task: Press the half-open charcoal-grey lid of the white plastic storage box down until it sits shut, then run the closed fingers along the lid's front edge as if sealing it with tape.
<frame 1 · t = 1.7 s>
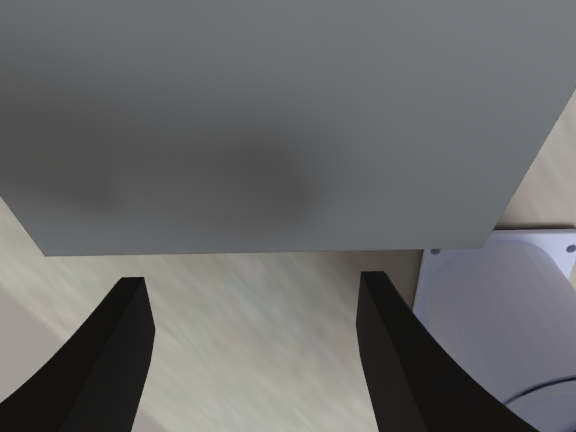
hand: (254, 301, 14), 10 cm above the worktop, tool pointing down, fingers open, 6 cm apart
lid: (257, 108, 14), point 7 cm above the worktop, hinge at 20.0°
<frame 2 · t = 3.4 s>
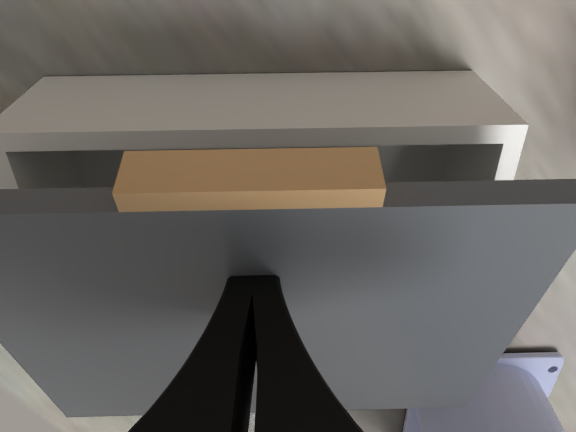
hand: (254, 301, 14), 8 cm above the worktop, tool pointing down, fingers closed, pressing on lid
lid: (261, 315, 16), point 7 cm above the worktop, hinge at 14.6°, touching gripper
storage box: (264, 208, 22), on the worktop
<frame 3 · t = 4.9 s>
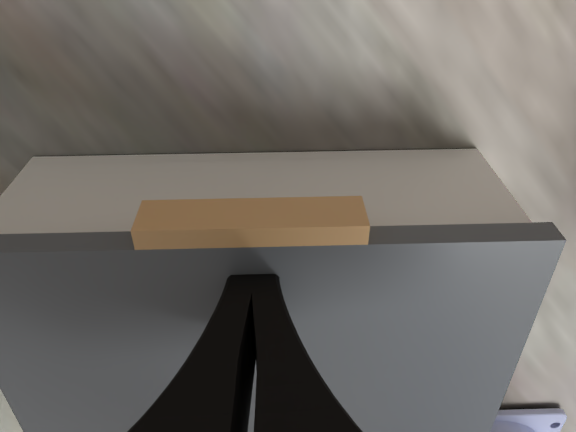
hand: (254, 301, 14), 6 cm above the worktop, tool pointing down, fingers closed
lid: (260, 371, 17), point 5 cm above the worktop, hinge at 0.8°
storage box: (262, 278, 22), on the worktop
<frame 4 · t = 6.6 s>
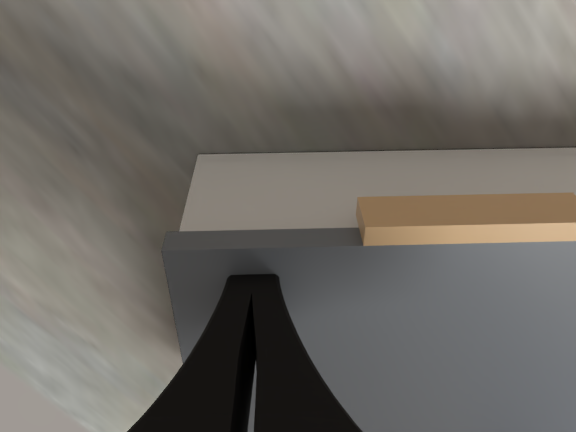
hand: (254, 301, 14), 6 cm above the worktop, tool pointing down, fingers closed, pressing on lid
lid: (434, 367, 17), point 5 cm above the worktop, hinge at 0.8°, touching gripper
storage box: (399, 275, 22), on the worktop
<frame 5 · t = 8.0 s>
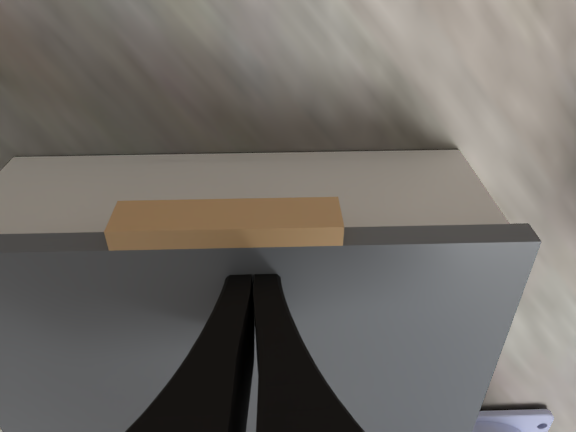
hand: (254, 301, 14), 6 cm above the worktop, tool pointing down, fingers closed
lid: (240, 372, 17), point 5 cm above the worktop, hinge at 0.8°
storage box: (246, 279, 22), on the worktop
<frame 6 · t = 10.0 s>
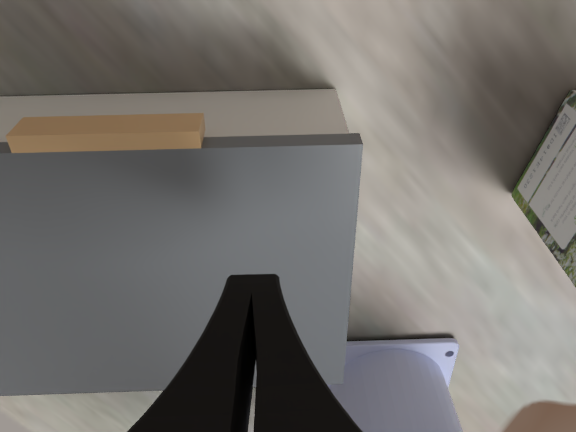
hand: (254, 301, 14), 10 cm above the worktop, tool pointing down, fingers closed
lid: (143, 274, 20), point 5 cm above the worktop, hinge at 0.8°
storage box: (167, 211, 25), on the worktop
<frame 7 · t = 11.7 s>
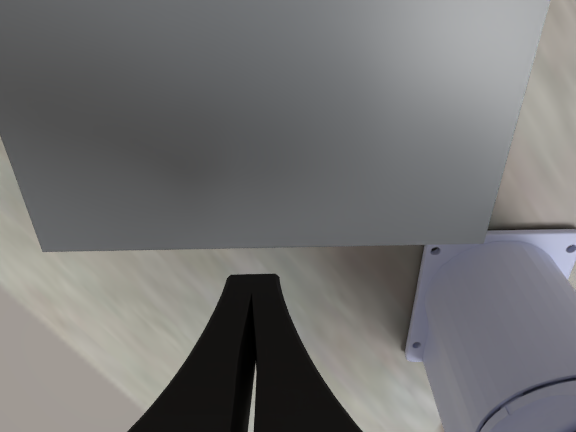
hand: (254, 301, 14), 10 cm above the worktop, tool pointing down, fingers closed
lid: (258, 69, 16), point 5 cm above the worktop, hinge at 0.8°
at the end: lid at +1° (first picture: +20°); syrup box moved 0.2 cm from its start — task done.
